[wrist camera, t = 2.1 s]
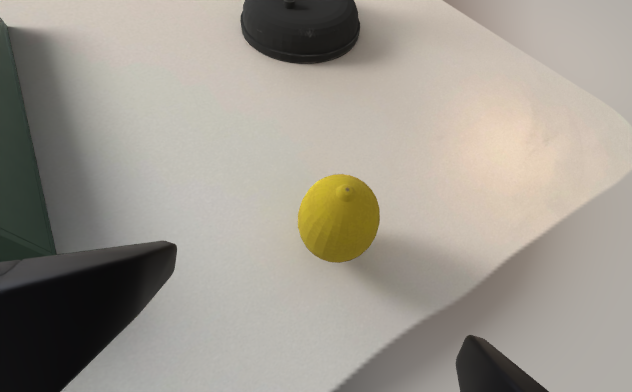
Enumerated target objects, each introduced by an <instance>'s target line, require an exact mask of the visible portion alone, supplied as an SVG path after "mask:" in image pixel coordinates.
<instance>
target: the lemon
mask: <svg viewBox="0 0 632 392" xmlns="http://www.w3.org/2000/svg"><path fill="white" fill-rule="evenodd" d="M379 220H380V216H379V205H378V202H377V199H376V196H375V195H374V193H373V191H372V190H371V189H370V188H369V187H368V186H367V185H366V184H365V183H364V182H363V181H361V180H360V179H358V178H355V177H353V176H350V175H344V174H338V175H332V176H328V177H325V178H323V179H321V180H319V181H318V182H316V183H315V184H314V185H313V186H312V187H311V188H310V189H309V190H308V192H307V194H306V195H305V197H304V198H303V200H302V203H301V206H300V210H299V213H298V228H299V232H300V235H301V238H302V240H303V242H304V244H305V245H306V247H307V248H308V249H309V250H310V251H311V252H312V253H313V254H314V255H315V256H317V257H319V258H320V259H322V260H326V261H329V262H345V261H350V260H352V259H354V258H356V257H358V256H360V255H361V254H362V253H363V252H364V251H365V250H367V249H368V248H369V246H370V245H371V243H372V241H373V240H374V238H375V236H376V233H377V230H378V226H379Z"/></svg>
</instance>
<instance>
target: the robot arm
mask: <svg viewBox="0 0 632 392" xmlns="http://www.w3.org/2000/svg"><path fill="white" fill-rule="evenodd" d="M176 254H177V246H176V245H175V244H173V243H170V242H167V241H157V242H149V243H142V244H134V245H126V246H119V247H111V248H104V249H96V250H88V251H81V252H73V253H66V254H58V255H50V256H43V257H35V258H27V259H23V260H22V261H21V260H12V261H4V262H0V392H60V391H61V390H63V389H64V388H65V387H66V386H67V385H68V384H69V383H70V382H71V381H72V380H73V379H74V378H75V377H76V376H77V375H78V374H79V373H80V372H81V371H82V370H83V369H84V368H85V367H86V366H87V365H88V364H89V363H90V362H91V361H92V360H93V359H94V358H95V357H96V356H97V355H98V354H99V353H100V352H101V351H102V350H103V349H104V348H105V347H106V346H107V345H108V344H109V343H110V342H111V341H112V340H113V339H114V338H115V337H116V336H117V335H118V334H119V333H120V332H121V331H122V330H124V329H125V328H126V327H127V326H128V325H129V324H130V323H131V322H132V321H133V320H134V319H135V318H136V317H137V315H138V314H139V313H140V312H141V311H142V310H143V309H144V308H145V307H146V305H147V304H148V303H149V302H150V301H151V299H152V298H153V297H154V296H155V295H156V293H157V292H158V291H159V290H160V289H161V287H162V286H163V285H164V284H165V283H166V281H167V280H168V279H169V278H170V277H171V275H172V274H173V271H174V268H175V261H176ZM456 369H457V375H458V381H459V386H460V392H549V391H547V390H546V389H545V388H544V387H543V386H541V385H540V384H539V383H537V382H536V381H535V380H534V379H533V378H531V377H530V376H529V375H528V374H526V373H525V372H524V371H523V370H522V369H520V368H519V367H518V366H517V365H516V364H514V363H513V362H512V361H511V360H509V359H508V358H507V357H506V356H504V355H503V354H502V353H501V352H500V351H498V350H497V349H496V348H495V347H493V346H492V345H491V344H489V342H487V341H486V340H485V339H483V338H480V337H476V336H473V335H469V336H467V337H466V338H465V340H464V343H463V345H462V347H461V349H460V351H459V354H458V356H457V359H456Z"/></svg>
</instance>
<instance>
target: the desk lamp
mask: <svg viewBox="0 0 632 392" xmlns="http://www.w3.org/2000/svg"><path fill="white" fill-rule="evenodd" d="M241 28H242V32H243V35H244V37H245V39H246V40H247V42H248V43H249V44H250V45H251V46H252V47H254V48H255V49H256V50H258V51H259V52H261V53H263V54H265V55H267V56H269V57H272V58H275V59H278V60H282V61H287V62H293V63H318V62H324V61H328V60H332V59H335V58H338V57H340V56H342V55H344V54H345V53H347V52H348V51H349V50H351V49H352V47H353V46H354V45H355V44H356V42H357V40H358V36H359V30H360V22H359V19H358V11H357V8H356V5H355V2H354V0H245V2H244V5H243V11H242V14H241Z"/></svg>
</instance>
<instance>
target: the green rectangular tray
mask: <svg viewBox="0 0 632 392" xmlns="http://www.w3.org/2000/svg"><path fill="white" fill-rule="evenodd" d="M50 255H56V251H55V246H54V242H53V237H52V232H51V228H50V223H49V219H48V214H47V209H46V205H45V200H44V195H43V191H42V186H41V182H40V177H39V172H38V168H37V163H36V159H35V154H34V149H33V145H32V140H31V135H30V131H29V126H28V122H27V117H26V112H25V108H24V103H23V99H22V94H21V89H20V85H19V80H18V75H17V71H16V66H15V62H14V57H13V52H12V48H11V43H10V39H9V34H8V29H7V25H6V24H5V23H4V22H3V20H2V19H1V18H0V262H4V261H12V260H21V261H22V260H23V259H27V258H35V257H43V256H50Z"/></svg>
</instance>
